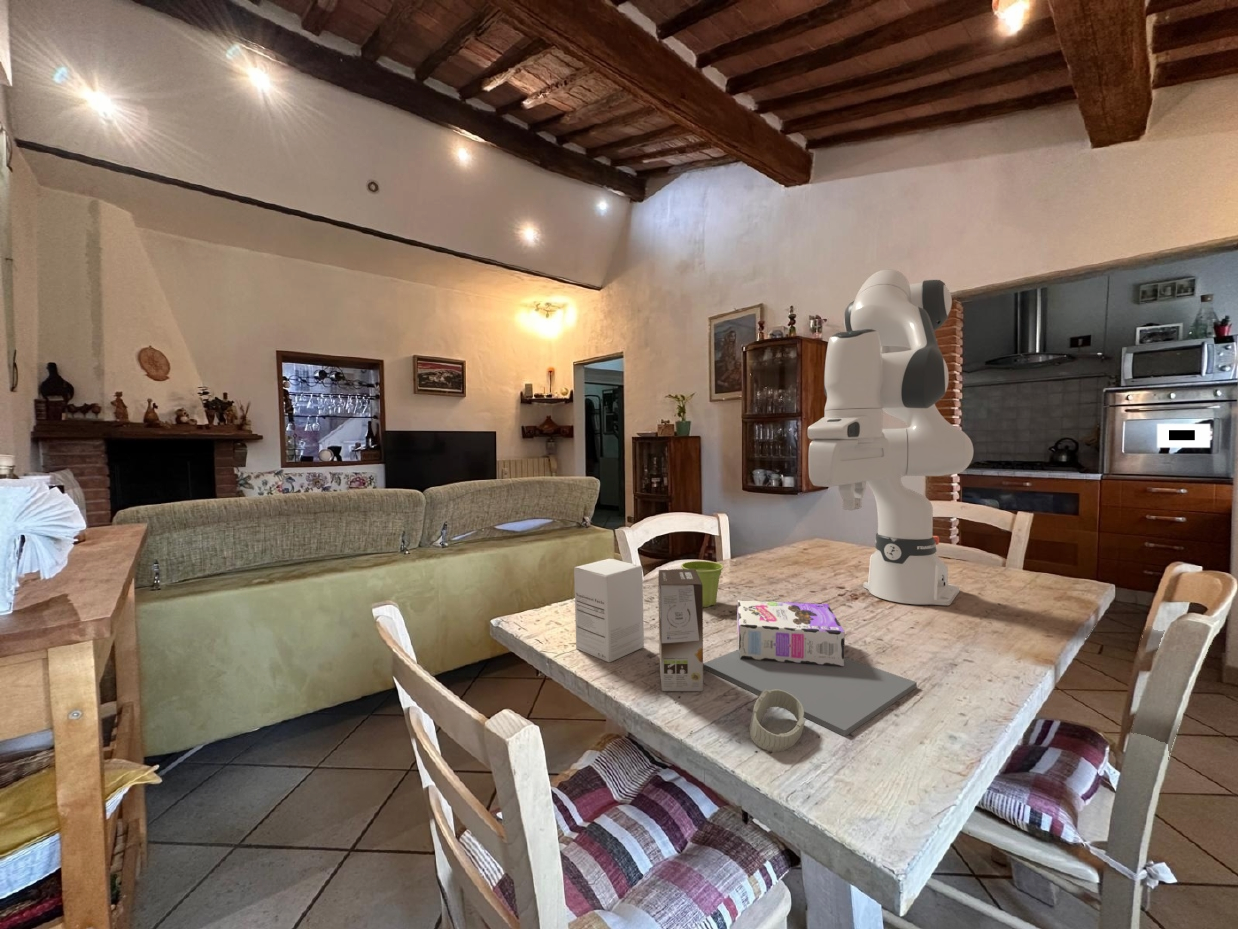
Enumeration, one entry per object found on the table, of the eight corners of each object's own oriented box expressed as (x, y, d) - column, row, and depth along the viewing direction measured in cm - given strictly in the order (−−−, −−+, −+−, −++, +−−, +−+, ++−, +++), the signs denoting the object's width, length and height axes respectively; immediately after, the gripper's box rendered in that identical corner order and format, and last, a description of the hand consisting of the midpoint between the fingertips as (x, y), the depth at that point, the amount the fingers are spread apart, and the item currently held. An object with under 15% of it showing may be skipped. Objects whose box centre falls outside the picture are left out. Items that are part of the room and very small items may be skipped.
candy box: (846, 631, 79) (738, 625, 82) (845, 668, 79) (738, 660, 83) (828, 602, 92) (736, 598, 96) (828, 634, 93) (736, 628, 96)
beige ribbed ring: (766, 711, 69) (766, 675, 68) (813, 726, 65) (814, 688, 65) (739, 743, 61) (739, 703, 61) (791, 762, 58) (791, 720, 57)
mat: (777, 638, 93) (777, 633, 93) (916, 687, 74) (916, 682, 74) (702, 668, 81) (702, 663, 81) (844, 736, 62) (844, 730, 62)
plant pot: (681, 596, 119) (681, 560, 119) (722, 597, 118) (721, 560, 118) (681, 609, 110) (680, 570, 110) (724, 610, 109) (724, 571, 108)
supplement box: (610, 634, 96) (609, 557, 96) (645, 647, 90) (644, 565, 89) (574, 648, 90) (572, 566, 89) (608, 664, 84) (607, 575, 83)
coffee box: (704, 692, 74) (704, 584, 73) (661, 692, 74) (659, 584, 73) (697, 664, 83) (696, 568, 82) (658, 664, 83) (657, 568, 82)
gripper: (865, 426, 93) (864, 501, 94) (801, 428, 81) (801, 513, 81) (901, 426, 88) (900, 504, 89) (838, 427, 76) (838, 518, 76)
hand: (852, 509), depth 85 cm, fingers closed
